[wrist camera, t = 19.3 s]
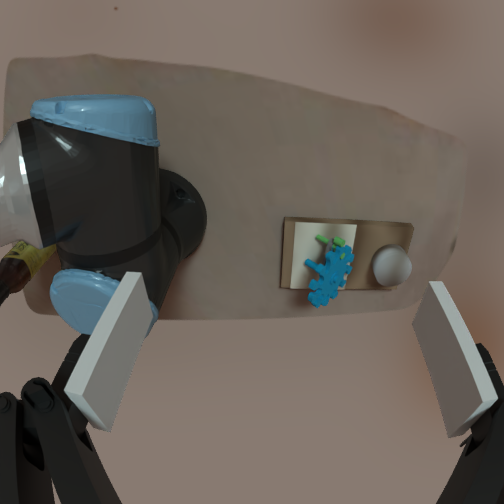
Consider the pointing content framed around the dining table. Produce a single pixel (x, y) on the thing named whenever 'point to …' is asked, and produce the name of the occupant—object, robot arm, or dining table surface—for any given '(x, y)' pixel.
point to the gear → (330, 270)
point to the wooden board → (363, 247)
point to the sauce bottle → (21, 267)
